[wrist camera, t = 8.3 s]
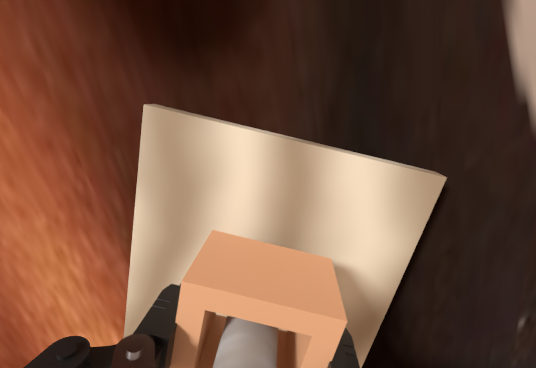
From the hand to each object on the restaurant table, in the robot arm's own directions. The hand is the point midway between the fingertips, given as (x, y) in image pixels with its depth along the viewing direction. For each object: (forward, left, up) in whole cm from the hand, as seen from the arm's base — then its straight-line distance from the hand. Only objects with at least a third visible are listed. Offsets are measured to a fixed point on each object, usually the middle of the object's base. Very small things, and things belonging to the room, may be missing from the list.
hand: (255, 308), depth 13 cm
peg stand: (0, 0, -4) cm, 4 cm away
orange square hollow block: (0, 0, -1) cm, 1 cm away
